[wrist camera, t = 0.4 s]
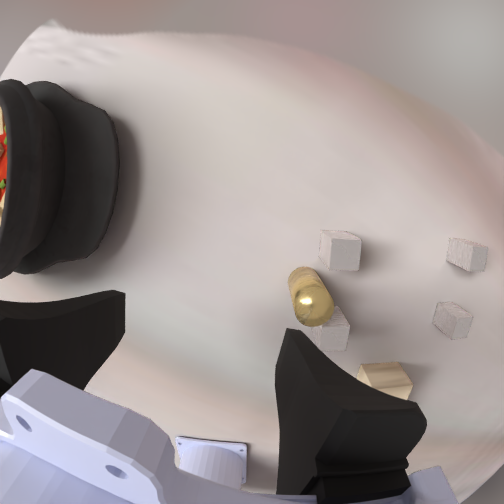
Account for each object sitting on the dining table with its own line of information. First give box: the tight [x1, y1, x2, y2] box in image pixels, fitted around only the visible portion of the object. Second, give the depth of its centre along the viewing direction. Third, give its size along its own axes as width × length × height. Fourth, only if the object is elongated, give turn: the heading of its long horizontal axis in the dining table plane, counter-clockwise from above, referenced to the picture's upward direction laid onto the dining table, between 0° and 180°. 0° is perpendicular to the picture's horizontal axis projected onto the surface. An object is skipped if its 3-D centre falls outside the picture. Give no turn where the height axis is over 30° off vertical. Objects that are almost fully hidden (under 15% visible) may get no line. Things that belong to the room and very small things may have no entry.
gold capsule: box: [288, 267, 334, 327], centre depth 19 cm, size 2×2×5 cm
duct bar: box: [357, 362, 413, 400], centre depth 22 cm, size 10×4×4 cm, turn 177°
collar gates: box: [312, 230, 488, 351], centre depth 19 cm, size 8×14×4 cm, turn 89°
